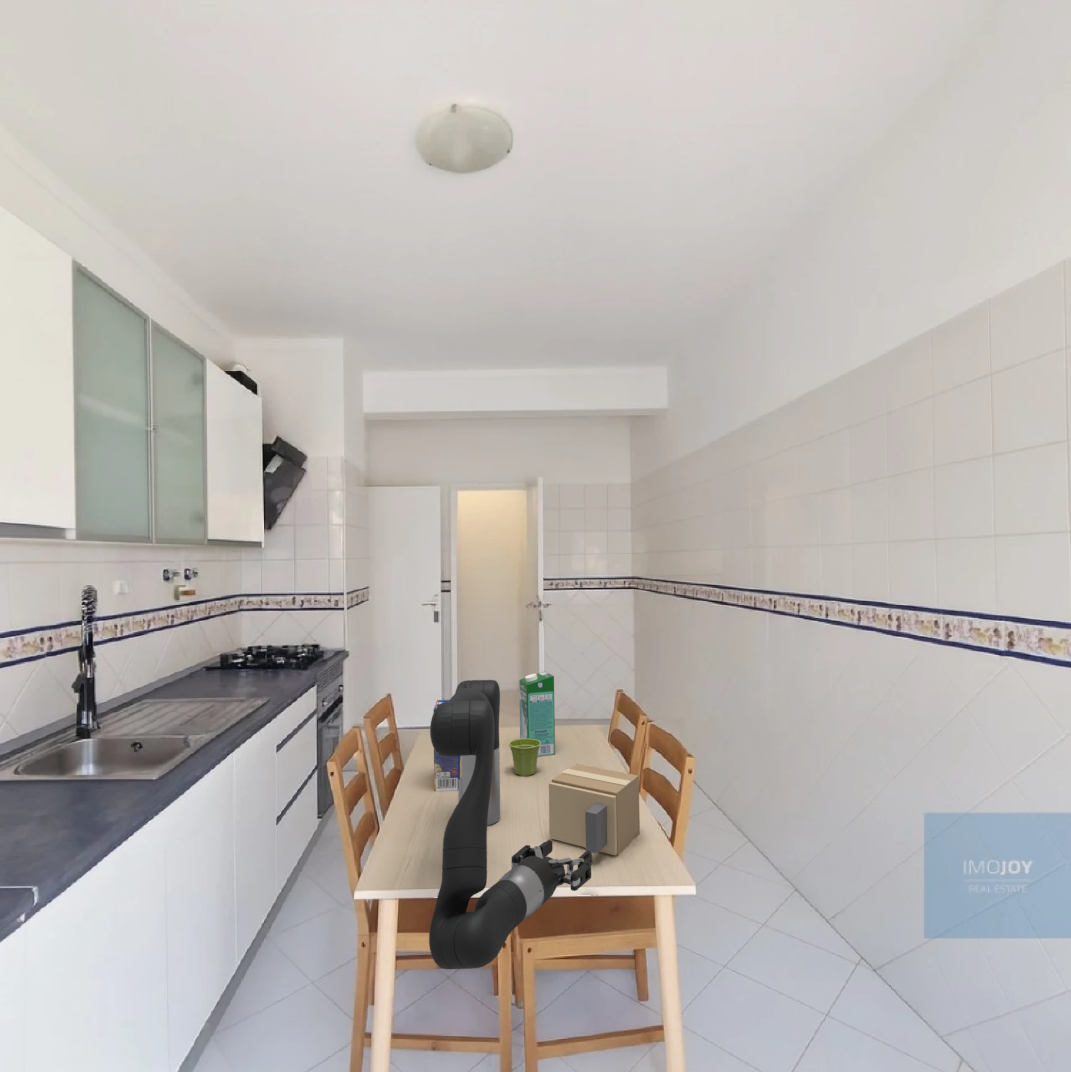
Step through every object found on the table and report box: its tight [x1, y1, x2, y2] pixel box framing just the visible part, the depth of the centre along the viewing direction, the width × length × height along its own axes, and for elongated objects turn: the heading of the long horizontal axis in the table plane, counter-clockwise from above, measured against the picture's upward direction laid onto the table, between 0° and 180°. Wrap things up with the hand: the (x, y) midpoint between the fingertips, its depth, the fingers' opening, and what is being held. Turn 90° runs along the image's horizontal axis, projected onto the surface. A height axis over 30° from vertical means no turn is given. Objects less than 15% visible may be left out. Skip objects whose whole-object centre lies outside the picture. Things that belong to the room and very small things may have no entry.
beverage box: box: [433, 699, 462, 792], centre depth 174 cm, size 7×11×22 cm, turn 4°
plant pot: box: [508, 738, 541, 777], centre depth 182 cm, size 9×9×9 cm
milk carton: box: [518, 670, 556, 757], centre depth 201 cm, size 9×9×25 cm
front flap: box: [548, 781, 617, 856], centre depth 133 cm, size 16×6×12 cm, turn 58°
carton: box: [551, 763, 641, 856], centre depth 141 cm, size 16×12×13 cm
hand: (569, 850), depth 120 cm, fingers open, 8 cm apart
